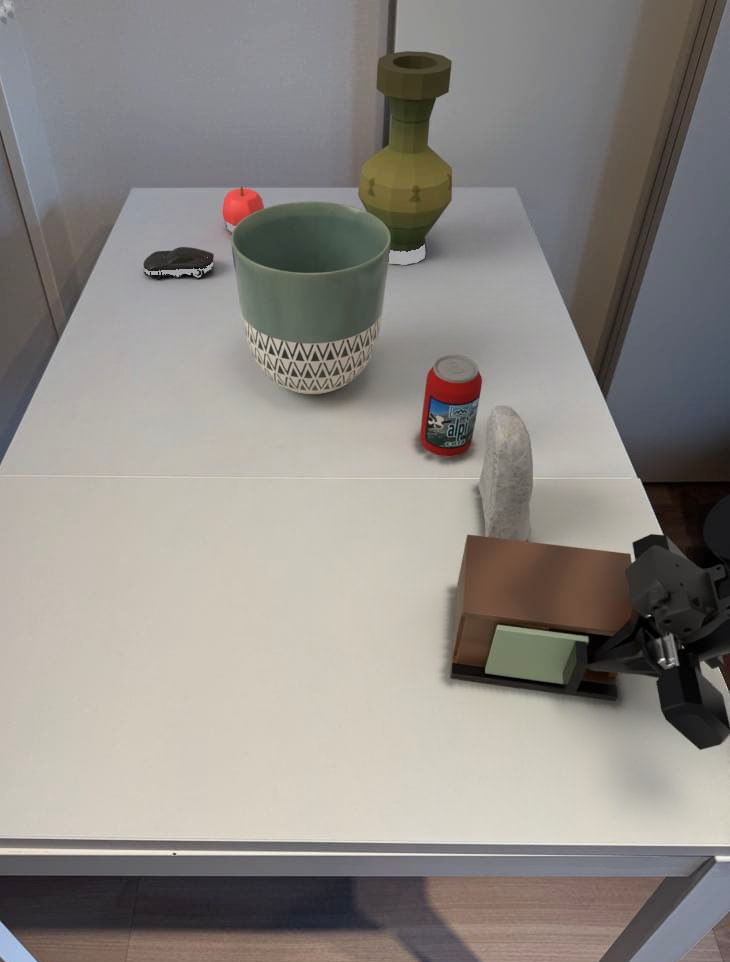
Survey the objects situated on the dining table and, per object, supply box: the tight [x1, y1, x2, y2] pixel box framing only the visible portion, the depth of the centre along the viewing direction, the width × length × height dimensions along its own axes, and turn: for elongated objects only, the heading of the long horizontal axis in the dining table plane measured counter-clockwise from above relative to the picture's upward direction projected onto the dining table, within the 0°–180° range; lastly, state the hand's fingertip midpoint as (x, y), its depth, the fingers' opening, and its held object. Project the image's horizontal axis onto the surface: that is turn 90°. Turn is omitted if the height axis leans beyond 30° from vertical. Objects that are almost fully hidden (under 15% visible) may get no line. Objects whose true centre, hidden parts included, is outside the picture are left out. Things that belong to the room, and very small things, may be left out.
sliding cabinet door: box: [485, 625, 589, 696], centre depth 72 cm, size 8×3×7 cm, turn 81°
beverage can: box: [419, 354, 483, 458], centre depth 97 cm, size 7×7×12 cm
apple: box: [222, 186, 265, 226], centre depth 141 cm, size 8×8×8 cm
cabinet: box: [450, 534, 633, 702], centre depth 76 cm, size 16×11×9 cm
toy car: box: [143, 246, 215, 280], centre depth 131 cm, size 6×12×4 cm, turn 93°
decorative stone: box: [478, 404, 534, 542], centre depth 86 cm, size 11×6×15 cm, turn 0°
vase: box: [357, 50, 453, 252], centre depth 127 cm, size 16×16×30 cm
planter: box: [230, 200, 391, 395], centre depth 103 cm, size 20×20×21 cm
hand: (587, 665), depth 69 cm, fingers closed, pressing on sliding cabinet door
